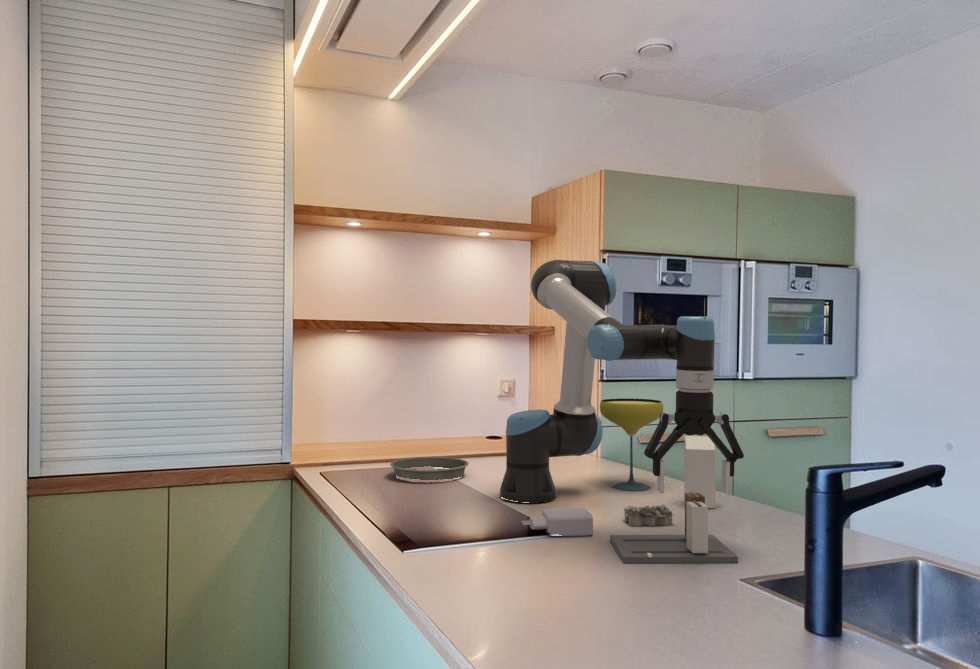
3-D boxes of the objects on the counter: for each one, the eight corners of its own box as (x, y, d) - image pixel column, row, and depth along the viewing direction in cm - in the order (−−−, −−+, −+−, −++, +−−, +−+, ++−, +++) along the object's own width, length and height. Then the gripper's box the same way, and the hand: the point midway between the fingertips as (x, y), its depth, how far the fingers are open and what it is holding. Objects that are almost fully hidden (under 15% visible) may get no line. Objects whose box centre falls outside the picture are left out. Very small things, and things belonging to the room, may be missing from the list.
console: (624, 563, 133) (624, 555, 133) (609, 540, 149) (609, 533, 149) (738, 563, 133) (738, 555, 133) (712, 540, 149) (712, 532, 149)
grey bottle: (518, 528, 159) (582, 526, 161) (525, 540, 150) (593, 537, 152) (518, 507, 159) (582, 505, 161) (525, 518, 150) (593, 515, 152)
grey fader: (692, 553, 135) (692, 505, 135) (686, 546, 139) (686, 500, 139) (708, 553, 135) (707, 505, 135) (701, 546, 139) (701, 500, 139)
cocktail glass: (631, 478, 215) (631, 397, 215) (676, 488, 200) (676, 401, 200) (587, 485, 205) (587, 400, 205) (631, 496, 190) (631, 405, 190)
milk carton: (715, 509, 176) (715, 433, 176) (686, 507, 178) (686, 433, 178) (712, 502, 183) (712, 430, 183) (684, 501, 184) (684, 429, 185)
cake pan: (483, 479, 215) (483, 464, 215) (413, 488, 202) (413, 473, 202) (443, 466, 236) (443, 453, 236) (377, 475, 222) (377, 460, 222)
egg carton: (629, 528, 159) (629, 510, 159) (621, 519, 167) (621, 502, 167) (675, 527, 160) (675, 509, 160) (665, 518, 168) (665, 501, 168)
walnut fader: (690, 541, 143) (690, 496, 143) (684, 535, 147) (684, 491, 147) (705, 541, 143) (704, 495, 143) (699, 535, 147) (698, 491, 147)
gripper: (638, 391, 141) (637, 495, 141) (761, 392, 141) (759, 496, 142) (631, 387, 148) (629, 486, 149) (747, 389, 149) (745, 487, 149)
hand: (692, 491), depth 145 cm, fingers open, 13 cm apart
